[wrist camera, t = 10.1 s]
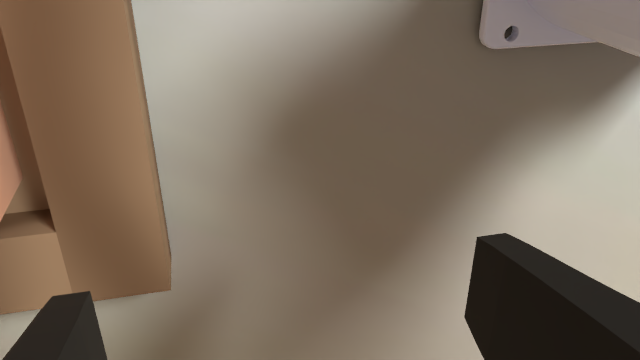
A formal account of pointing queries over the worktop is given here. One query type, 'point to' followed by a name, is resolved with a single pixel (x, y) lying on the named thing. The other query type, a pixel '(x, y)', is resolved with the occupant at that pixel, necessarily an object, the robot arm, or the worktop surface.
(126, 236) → the board
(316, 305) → the worktop surface
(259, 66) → the worktop surface
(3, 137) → the bar
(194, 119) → the worktop surface
